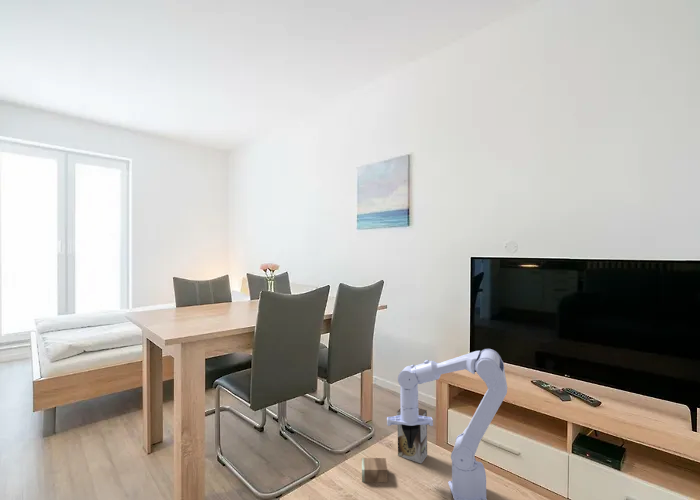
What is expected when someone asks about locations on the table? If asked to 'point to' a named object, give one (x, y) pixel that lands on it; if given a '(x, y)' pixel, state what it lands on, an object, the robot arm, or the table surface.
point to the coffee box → (420, 442)
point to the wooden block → (374, 470)
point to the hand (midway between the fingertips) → (410, 446)
